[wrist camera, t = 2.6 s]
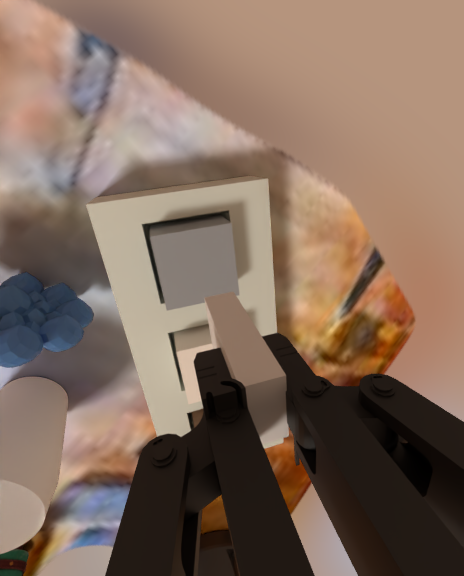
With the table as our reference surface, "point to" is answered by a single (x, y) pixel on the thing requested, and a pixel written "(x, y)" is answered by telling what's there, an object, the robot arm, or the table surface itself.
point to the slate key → (194, 259)
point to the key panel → (147, 288)
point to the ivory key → (191, 356)
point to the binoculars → (13, 562)
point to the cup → (29, 455)
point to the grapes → (38, 319)
